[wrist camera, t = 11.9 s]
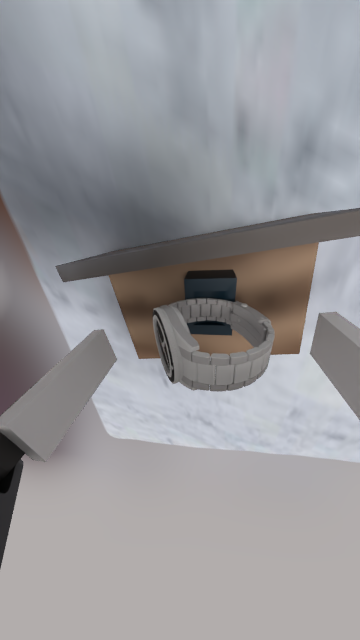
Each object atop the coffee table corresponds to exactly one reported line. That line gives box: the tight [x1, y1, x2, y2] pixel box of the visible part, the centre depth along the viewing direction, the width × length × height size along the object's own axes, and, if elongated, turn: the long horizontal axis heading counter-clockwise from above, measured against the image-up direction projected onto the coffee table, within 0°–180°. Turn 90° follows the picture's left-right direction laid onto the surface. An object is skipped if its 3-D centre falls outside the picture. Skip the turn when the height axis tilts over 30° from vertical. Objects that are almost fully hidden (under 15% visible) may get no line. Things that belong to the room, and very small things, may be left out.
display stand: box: [55, 208, 360, 359], centre depth 17 cm, size 14×20×8 cm
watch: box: [153, 269, 275, 391], centre depth 13 cm, size 6×8×11 cm
